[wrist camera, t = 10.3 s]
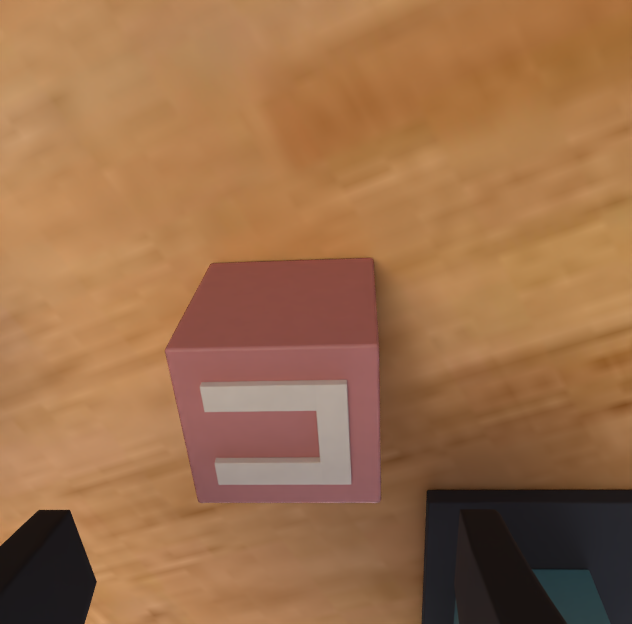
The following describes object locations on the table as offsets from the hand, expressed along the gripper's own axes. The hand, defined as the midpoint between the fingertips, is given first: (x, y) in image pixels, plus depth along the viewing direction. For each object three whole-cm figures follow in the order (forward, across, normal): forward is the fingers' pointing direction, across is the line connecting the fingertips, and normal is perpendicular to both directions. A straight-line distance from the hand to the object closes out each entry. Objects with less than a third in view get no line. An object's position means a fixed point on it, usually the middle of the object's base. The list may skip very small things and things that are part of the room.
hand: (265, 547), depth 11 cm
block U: (+8, 0, 0) cm, 8 cm away
